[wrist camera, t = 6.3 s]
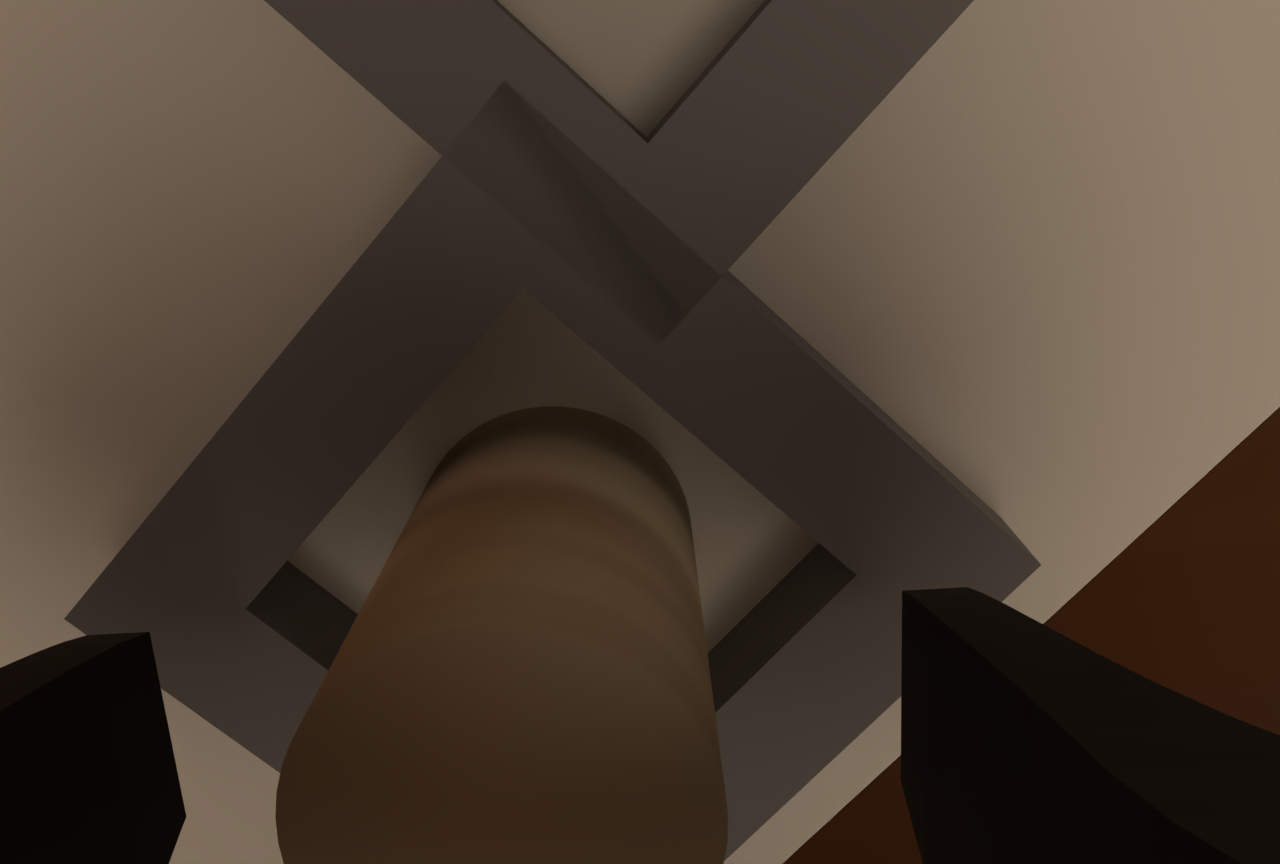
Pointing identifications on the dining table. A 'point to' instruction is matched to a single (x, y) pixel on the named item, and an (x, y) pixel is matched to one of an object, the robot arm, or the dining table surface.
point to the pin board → (616, 324)
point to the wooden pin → (521, 670)
